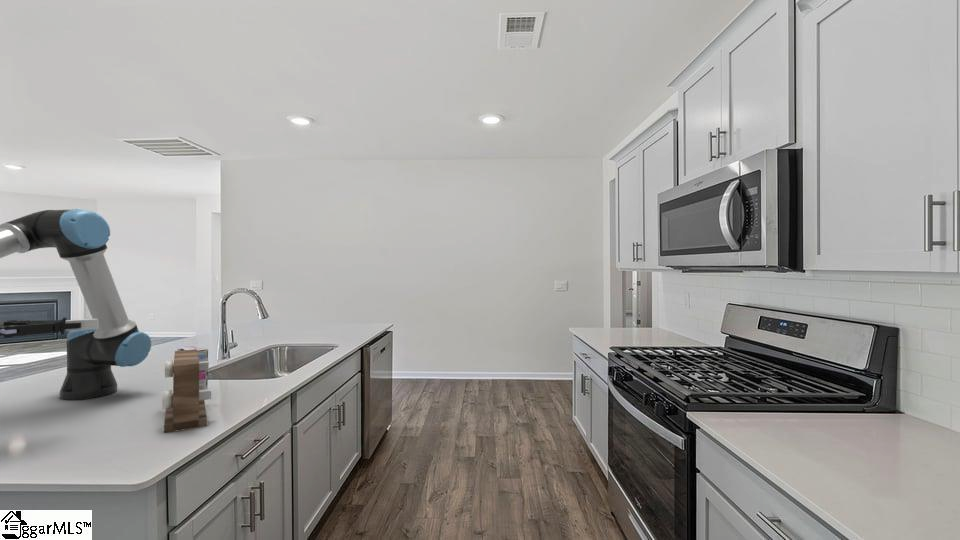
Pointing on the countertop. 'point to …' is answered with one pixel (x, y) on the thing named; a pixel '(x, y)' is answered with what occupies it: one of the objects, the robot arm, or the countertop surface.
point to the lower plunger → (168, 397)
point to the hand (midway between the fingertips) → (97, 323)
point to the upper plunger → (169, 364)
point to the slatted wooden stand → (185, 394)
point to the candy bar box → (202, 357)
